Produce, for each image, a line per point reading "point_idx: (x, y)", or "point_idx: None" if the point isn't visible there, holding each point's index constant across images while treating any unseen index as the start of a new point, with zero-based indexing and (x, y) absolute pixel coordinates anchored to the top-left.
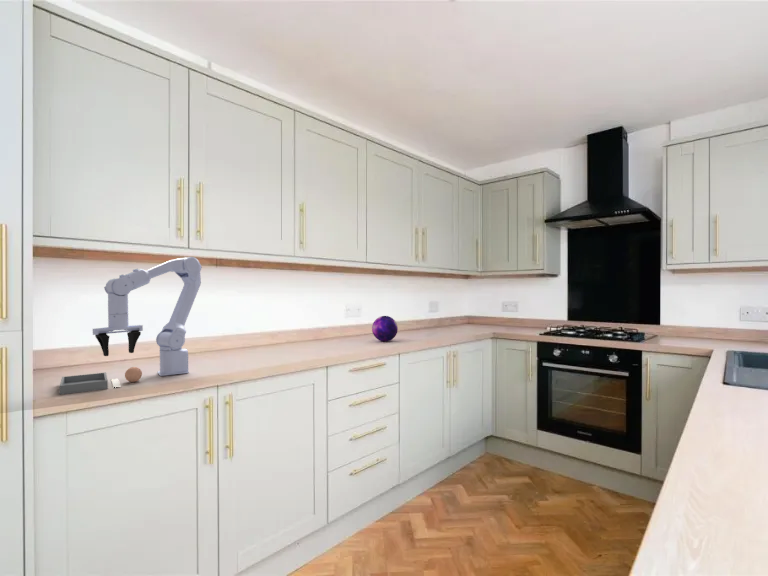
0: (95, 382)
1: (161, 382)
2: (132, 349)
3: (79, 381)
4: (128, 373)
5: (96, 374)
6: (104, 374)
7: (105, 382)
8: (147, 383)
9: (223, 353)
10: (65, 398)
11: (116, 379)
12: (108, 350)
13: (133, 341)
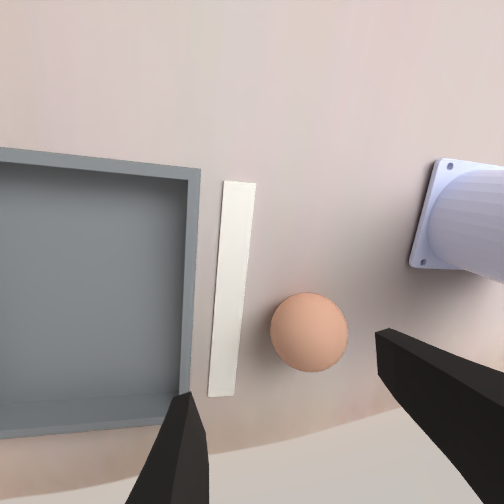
0: (136, 424)
1: (365, 381)
2: (404, 402)
3: (54, 168)
4: (286, 362)
5: (145, 174)
6: (186, 245)
7: None
8: (325, 372)
9: None
10: (37, 477)
11: (245, 207)
12: (208, 496)
13: (481, 493)
